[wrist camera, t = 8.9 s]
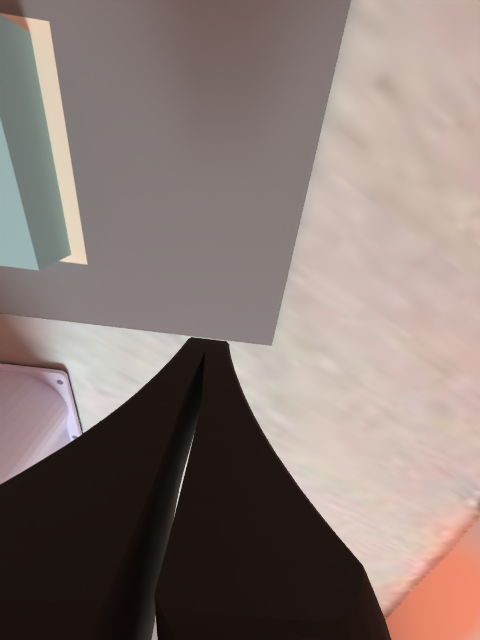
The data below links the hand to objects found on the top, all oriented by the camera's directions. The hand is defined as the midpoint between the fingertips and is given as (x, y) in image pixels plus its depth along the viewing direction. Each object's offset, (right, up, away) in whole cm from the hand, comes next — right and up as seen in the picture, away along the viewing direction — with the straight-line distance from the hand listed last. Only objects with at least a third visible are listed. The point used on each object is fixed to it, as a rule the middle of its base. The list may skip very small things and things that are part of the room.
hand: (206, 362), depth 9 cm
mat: (-8, +10, +5) cm, 14 cm away
